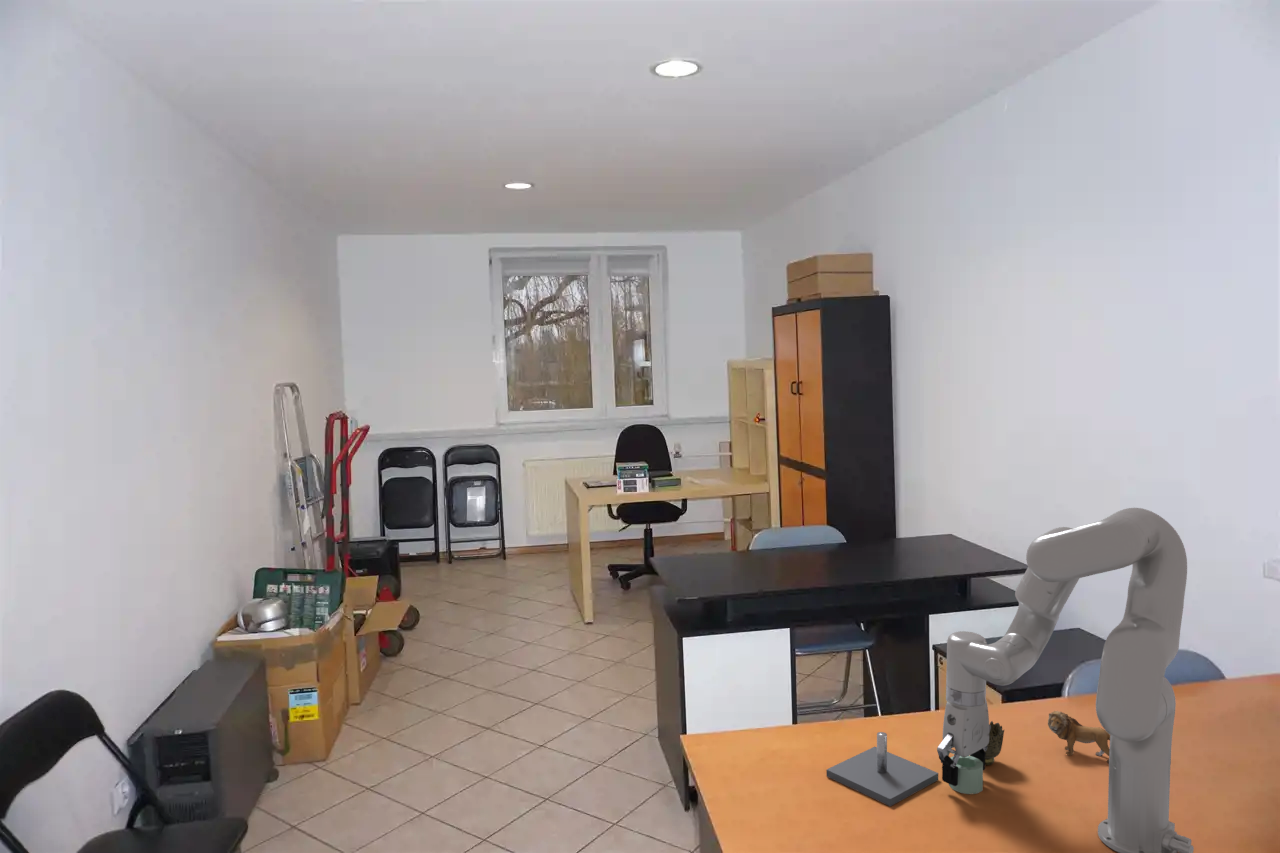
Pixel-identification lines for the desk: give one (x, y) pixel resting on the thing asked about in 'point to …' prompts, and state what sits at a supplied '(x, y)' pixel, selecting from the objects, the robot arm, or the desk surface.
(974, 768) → the bead
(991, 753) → the cup
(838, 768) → the board
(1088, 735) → the lion figurine
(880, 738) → the rod
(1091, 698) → the desk surface
